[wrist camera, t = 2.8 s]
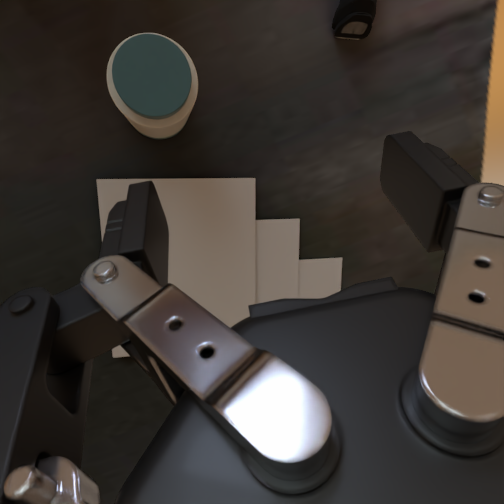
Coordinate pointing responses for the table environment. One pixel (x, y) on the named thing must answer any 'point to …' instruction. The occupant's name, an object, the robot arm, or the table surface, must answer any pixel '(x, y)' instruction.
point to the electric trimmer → (354, 18)
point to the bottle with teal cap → (153, 84)
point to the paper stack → (228, 247)
